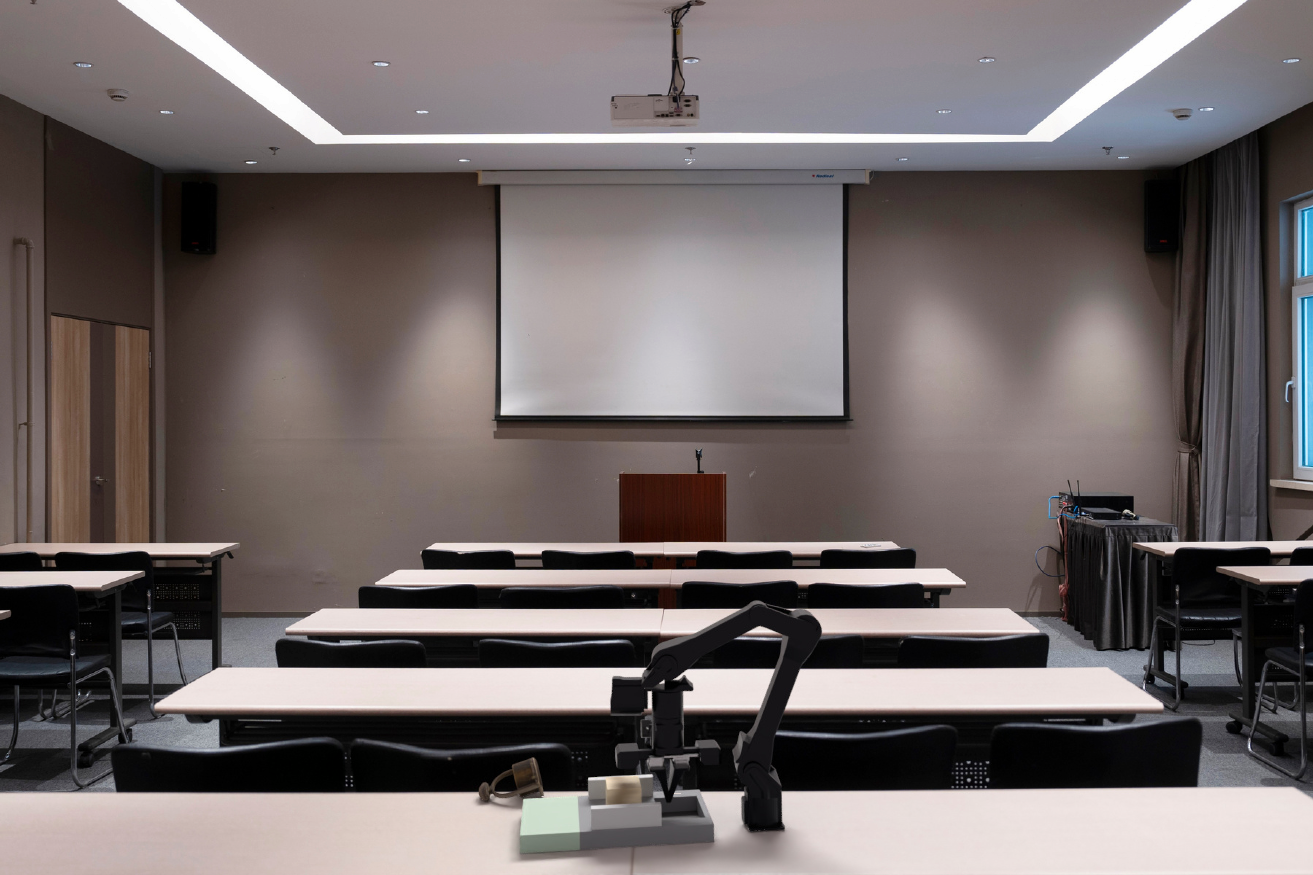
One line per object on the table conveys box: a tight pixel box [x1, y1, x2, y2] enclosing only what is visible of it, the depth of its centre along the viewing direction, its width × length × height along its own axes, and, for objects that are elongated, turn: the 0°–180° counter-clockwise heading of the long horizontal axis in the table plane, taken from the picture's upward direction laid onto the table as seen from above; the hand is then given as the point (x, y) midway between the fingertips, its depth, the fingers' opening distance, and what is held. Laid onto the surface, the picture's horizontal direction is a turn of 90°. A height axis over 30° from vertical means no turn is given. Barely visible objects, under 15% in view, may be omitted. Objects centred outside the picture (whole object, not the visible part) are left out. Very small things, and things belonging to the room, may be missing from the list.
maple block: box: [604, 775, 642, 805], centre depth 159 cm, size 6×6×5 cm
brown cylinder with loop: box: [478, 757, 545, 802], centre depth 175 cm, size 7×13×10 cm
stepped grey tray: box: [519, 773, 715, 855], centre depth 159 cm, size 33×16×6 cm, turn 96°
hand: (668, 801), depth 160 cm, fingers closed
